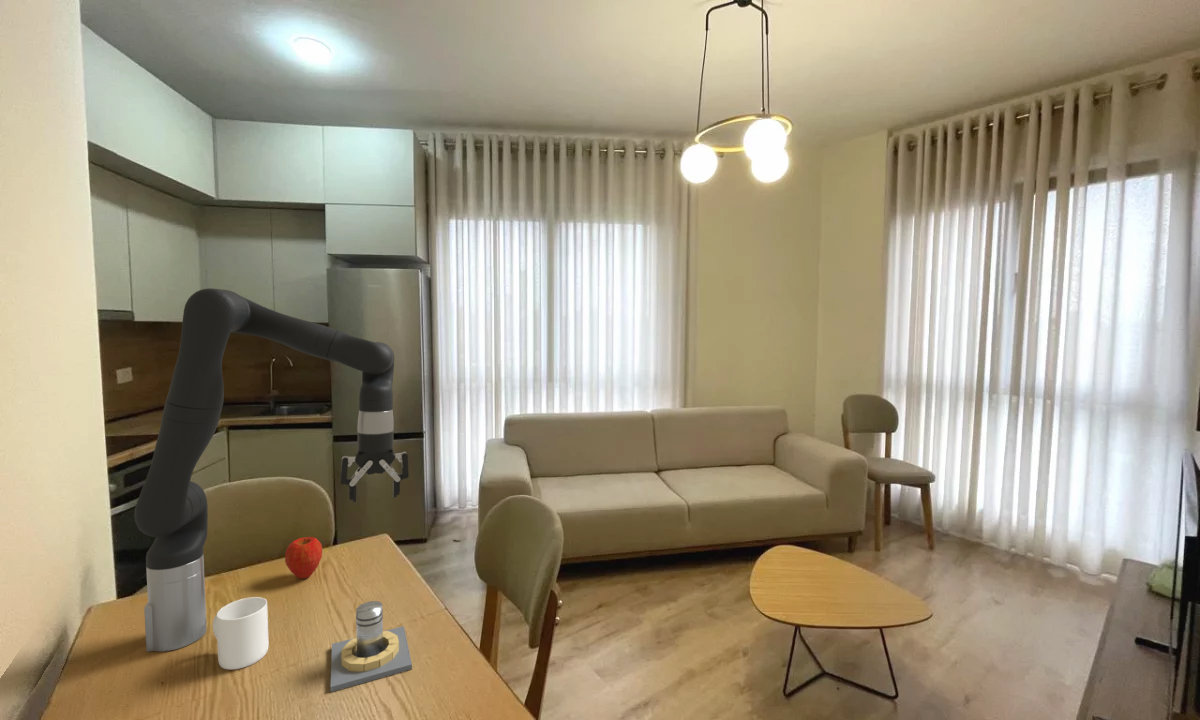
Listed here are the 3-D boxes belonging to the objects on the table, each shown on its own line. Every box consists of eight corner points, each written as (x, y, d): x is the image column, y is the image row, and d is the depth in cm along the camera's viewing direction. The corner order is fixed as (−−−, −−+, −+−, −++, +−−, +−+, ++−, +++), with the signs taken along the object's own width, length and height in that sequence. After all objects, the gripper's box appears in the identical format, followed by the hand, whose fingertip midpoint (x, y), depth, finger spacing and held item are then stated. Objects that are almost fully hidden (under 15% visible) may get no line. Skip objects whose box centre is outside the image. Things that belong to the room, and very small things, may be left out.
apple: (291, 589, 127) (290, 548, 126) (281, 578, 132) (279, 538, 132) (327, 577, 133) (326, 538, 132) (316, 567, 139) (315, 529, 138)
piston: (357, 663, 98) (356, 616, 97) (356, 649, 102) (355, 604, 102) (384, 656, 100) (383, 610, 99) (382, 642, 104) (381, 598, 104)
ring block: (330, 692, 92) (330, 679, 91) (332, 648, 104) (331, 636, 104) (411, 669, 98) (411, 656, 98) (404, 630, 110) (403, 619, 110)
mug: (194, 661, 99) (192, 611, 99) (236, 637, 107) (234, 590, 107) (238, 675, 96) (236, 623, 95) (278, 649, 104) (276, 600, 103)
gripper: (341, 434, 108) (340, 508, 109) (410, 430, 115) (409, 500, 116) (340, 428, 115) (340, 497, 116) (406, 424, 121) (405, 490, 122)
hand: (374, 498), depth 116 cm, fingers open, 8 cm apart
